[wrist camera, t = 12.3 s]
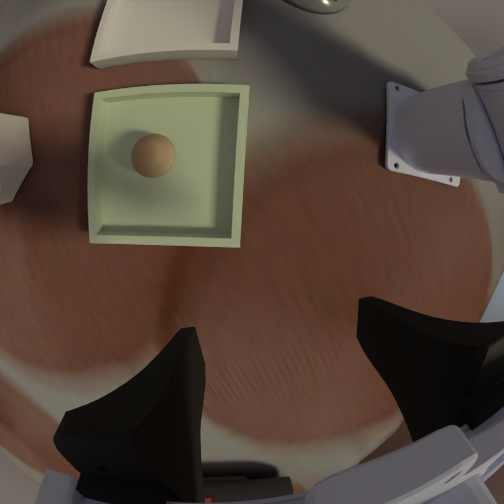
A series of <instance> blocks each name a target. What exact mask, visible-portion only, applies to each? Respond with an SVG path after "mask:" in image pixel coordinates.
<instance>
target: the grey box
mask: <svg viewBox="0 0 504 504" xmlns="http://www.w3.org/2000/svg"><path fill="white" fill-rule="evenodd" d="M242 4H243V0H107V3H106V6H105V9H104V12H103V15H102V18H101V21H100V24H99V28H98V31H97V35H96V38H95V42H94V46H93V50H92V54H91V58H90V63H91V64H93V65H94V66H95V67H97V68H98V69H102V68H107V67H113V66H119V65H126V64H133V63H142V62H151V61H163V60H181V59H227V60H237V53H238V43H239V33H240V23H241V13H242Z"/></svg>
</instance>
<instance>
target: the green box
mask: <svg viewBox="0 0 504 504" xmlns="http://www.w3.org/2000/svg"><path fill="white" fill-rule="evenodd" d="M249 89H250V86H247V85H230V84H170V85H153V86H141V87H132V88H123V89H115V90H108V91H102V92H96V93H95V94H94V101H93V108H92V117H91V126H90V138H89V153H88V222H89V238H90V243H111V244H145V245H177V246H208V247H238V248H240V236H241V217H242V199H243V182H244V165H245V149H246V133H247V118H248V103H249ZM149 134H160V135H163V136H165V137H166V138H168V139H169V140H170V141H171V142H172V144H173V146H174V149H175V160H174V163H173V165H172V167H171V168H170V170H169V171H168V172H167V173H165V174H164V175H162V176H160V177H156V178H147V177H144V176H142V175H140V174H139V173H138V172H137V171H136V170H135V169H134V167H133V165H132V161H131V153H132V150H133V147H134V145H135V144H136V143H137V141H138V140H139V139H141V138H142V137H144V136H146V135H149Z"/></svg>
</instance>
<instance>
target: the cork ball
mask: <svg viewBox="0 0 504 504" xmlns="http://www.w3.org/2000/svg"><path fill="white" fill-rule="evenodd" d="M174 160H175V149H174V146H173V144H172V142H171V141H170V140H169V139H168V138H166V137H165V136H163V135H160V134H149V135H146V136H144V137H142V138H141V139H139V140H138V141H137V143H136V144H135V145H134V147H133V150H132V153H131V161H132V165H133V167H134V169H135V170H136V171H137V172H138V173H139V174H140V175H142V176H144V177H147V178H156V177H160V176H162V175H164V174H165V173H167V172H168V171H169V170H170V168H171V167H172V165H173V163H174Z"/></svg>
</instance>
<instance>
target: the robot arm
mask: <svg viewBox="0 0 504 504" xmlns="http://www.w3.org/2000/svg"><path fill="white" fill-rule="evenodd" d="M466 76H467V77H468V80H464V81H460V82H456V83H452V84H448V85H444V86H441V87H437V88H434V89H430V90H427V91H423V92H418V91H416V90H413V89H411V88H408V87H406V86H403V85H400V84H398V83H395V82H391V81H390V82H388V83H387V84H386V101H387V125H386V154H385V167H386V169H387V170H389V171H394V172H399V173H403V174H408V175H412V176H417V177H421V178H425V179H429V180H433V181H437V182H441V183H444V184H448V185H452V186H456V187H458V186H459V183H460V177H463V178H471V179H478V180H485V181H492V182H495V184H496V186H497V188H498V191H499V192H500V193H504V47H500V48H497V49H494V50H491V51H489V52H486V53H484V54H482V55H479V56H477V57H475V58H473V59H472V60H470V61H469V62H468V67H467V70H466ZM395 87H396V88H397V89H398V91H397V90H396V89H395ZM395 163H396V165H397V167H396V168H395V167H394V164H395ZM449 178H450V181H449ZM356 337H357V339H358V341H359V343H360V345H361V347H362V349H363V351H364V353H365V354H366V356H367V357H368V359H369V360H370V362H371V363H372V364H373V366H374V367H375V369H376V370H377V372H378V373H379V374H380V376H381V377H382V379H383V380H384V381H385V383H386V384H387V386H388V387H389V389H390V391H391V392H392V394H393V396H394V398H395V400H396V402H397V404H398V406H399V408H400V410H401V413H402V415H403V417H404V419H405V422H406V424H407V427H408V429H409V432H410V434H411V437H412V440H413V443H411V444H409V445H407V446H405V447H403V448H400V449H398V450H396V451H393V452H391V453H388V454H386V455H384V456H381V457H379V458H376V459H373V460H371V461H368V462H365V463H362V464H359V465H356V466H353V467H351V468H348V469H346V470H343V471H341V472H338V473H336V474H333V475H331V476H329V477H327V478H325V479H324V480H322V481H320V482H318V483H317V484H315V485H314V486H313V487H312V488H311V490H310V491H306V492H302V493H297V494H292V495H286V496H280V497H274V498H267V499H259V500H250V501H239V502H223V503H205V496H204V488H203V477H202V464H201V441H200V429H201V417H202V409H203V400H204V392H205V362H204V358H203V355H202V351H201V347H200V344H199V340H198V336H197V332H196V329H195V327H188V328H181V329H180V330H179V331H178V332H177V333H176V335H175V336H174V337H173V338H172V339H171V341H170V342H169V343H168V344H167V345H166V346H165V347H164V349H163V350H162V351H161V352H160V353H159V354H158V355H157V356H156V357H155V358H154V359H153V360H152V361H151V362H150V363H149V364H148V365H147V366H146V367H145V368H144V369H143V370H142V371H140V372H139V373H138V374H137V375H136V376H134V377H133V378H132V379H130V380H129V381H128V382H126V383H125V384H123V385H122V386H120V387H119V388H117V389H116V390H114V391H112V392H111V393H109V394H107V395H105V396H103V397H102V398H100V399H97V400H95V401H93V402H91V403H89V404H86V405H84V406H81V407H78V408H76V409H73V410H70V411H67V412H66V413H65V415H64V417H63V419H62V421H61V423H60V425H59V427H58V429H57V431H56V433H55V435H54V443H55V446H56V448H57V449H58V451H59V452H60V453H61V454H62V455H63V457H64V458H65V459H66V460H67V461H68V462H69V463H70V464H71V465H72V466H73V467H74V468H75V469H76V470H78V471H79V472H80V473H81V474H80V477H79V480H77V479H76V478H74V477H72V476H69V475H66V474H63V473H60V472H57V471H54V470H51V469H47V471H46V473H45V476H44V478H43V481H42V483H41V486H40V489H39V492H38V494H37V498H36V500H35V503H34V504H497V503H496V501H495V499H494V498H493V496H492V495H491V493H490V492H489V490H488V489H487V487H486V486H485V484H484V481H485V480H486V479H487V478H488V477H490V476H491V475H492V474H493V473H494V472H495V471H497V470H498V469H499V468H500V467H501V466H502V465H503V464H504V321H501V322H490V323H471V322H459V321H451V320H445V319H440V318H436V317H431V316H428V315H424V314H421V313H418V312H415V311H412V310H409V309H406V308H403V307H400V306H398V305H395V304H392V303H390V302H387V301H384V300H381V299H379V298H375V297H371V296H370V297H365V298H361V299H359V305H358V322H357V336H356Z"/></svg>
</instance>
